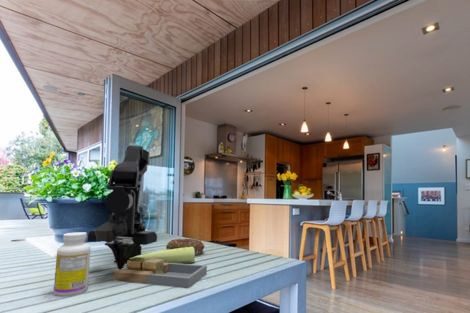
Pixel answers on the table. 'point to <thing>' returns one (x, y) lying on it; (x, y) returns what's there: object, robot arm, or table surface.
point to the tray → (178, 275)
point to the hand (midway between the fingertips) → (120, 268)
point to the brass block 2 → (153, 265)
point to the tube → (173, 255)
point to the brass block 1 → (135, 263)
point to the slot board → (135, 275)
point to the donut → (186, 244)
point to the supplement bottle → (72, 265)
